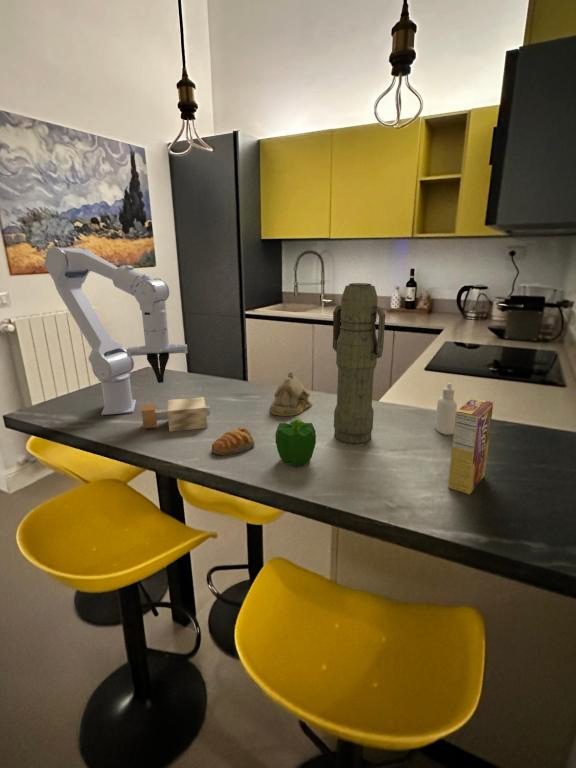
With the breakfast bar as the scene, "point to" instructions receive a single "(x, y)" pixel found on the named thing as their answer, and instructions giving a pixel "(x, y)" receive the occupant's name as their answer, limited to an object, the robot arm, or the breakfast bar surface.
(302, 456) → the bell pepper
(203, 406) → the block
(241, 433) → the pastry
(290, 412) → the ceramic model
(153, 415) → the shaft
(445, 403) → the eye dropper bottle
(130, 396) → the robot arm
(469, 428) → the candy box
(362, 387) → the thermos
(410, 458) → the breakfast bar surface
